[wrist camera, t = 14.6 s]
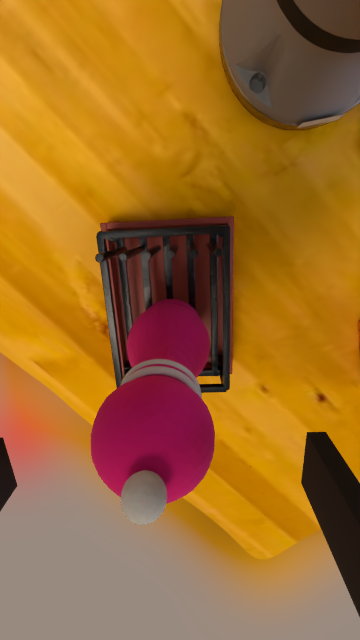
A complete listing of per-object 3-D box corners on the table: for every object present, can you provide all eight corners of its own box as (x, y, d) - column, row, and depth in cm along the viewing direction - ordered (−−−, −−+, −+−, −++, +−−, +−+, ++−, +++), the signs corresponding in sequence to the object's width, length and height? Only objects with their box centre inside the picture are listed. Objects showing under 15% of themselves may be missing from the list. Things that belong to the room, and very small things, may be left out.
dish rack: (106, 223, 30) (56, 221, 18) (230, 217, 29) (257, 210, 18) (124, 367, 35) (93, 435, 24) (229, 364, 35) (249, 431, 23)
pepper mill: (161, 371, 31) (118, 606, 12) (122, 317, 29) (-5, 491, 10) (219, 338, 29) (278, 545, 10) (182, 279, 27) (170, 398, 8)
